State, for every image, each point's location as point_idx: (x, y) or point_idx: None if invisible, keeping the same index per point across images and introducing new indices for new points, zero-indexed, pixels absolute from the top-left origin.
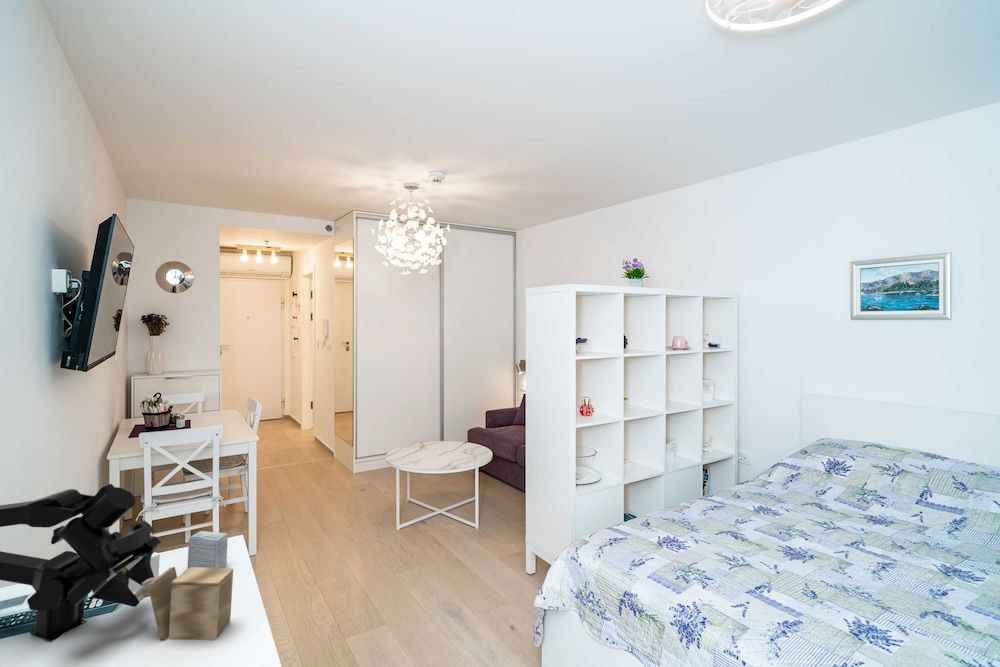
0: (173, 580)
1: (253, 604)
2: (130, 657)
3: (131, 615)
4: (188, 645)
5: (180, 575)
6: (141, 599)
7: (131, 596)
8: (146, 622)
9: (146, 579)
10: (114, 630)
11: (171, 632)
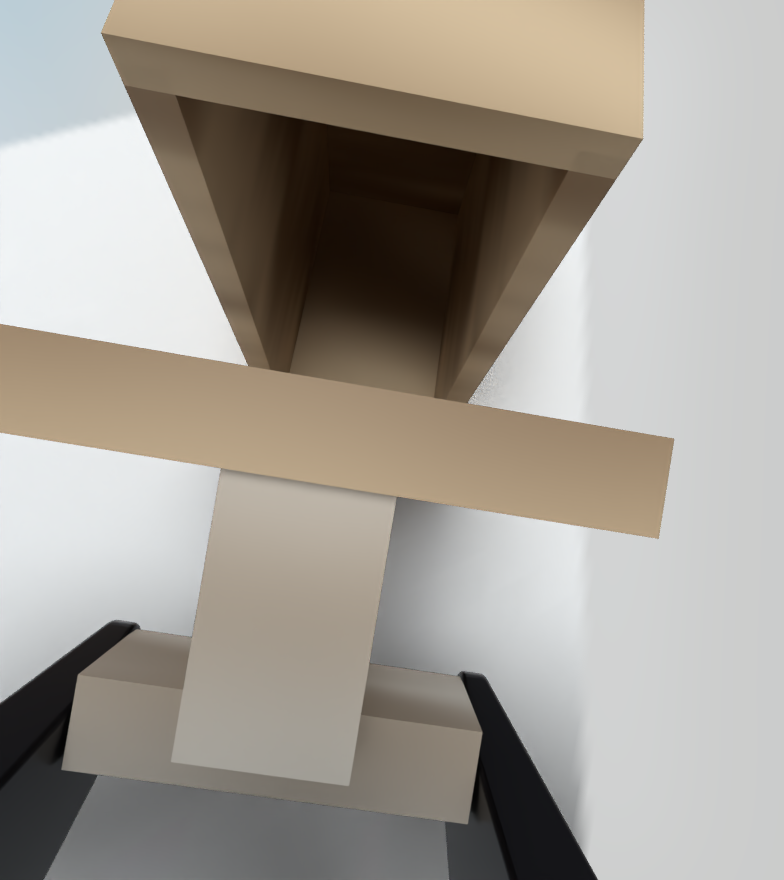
0: (606, 127)
1: (120, 122)
2: (575, 582)
3: (67, 857)
4: None
5: (432, 81)
6: (415, 675)
7: (541, 792)
8: None
9: (4, 848)
10: (270, 872)
11: None
